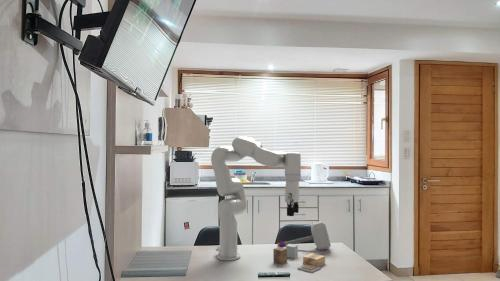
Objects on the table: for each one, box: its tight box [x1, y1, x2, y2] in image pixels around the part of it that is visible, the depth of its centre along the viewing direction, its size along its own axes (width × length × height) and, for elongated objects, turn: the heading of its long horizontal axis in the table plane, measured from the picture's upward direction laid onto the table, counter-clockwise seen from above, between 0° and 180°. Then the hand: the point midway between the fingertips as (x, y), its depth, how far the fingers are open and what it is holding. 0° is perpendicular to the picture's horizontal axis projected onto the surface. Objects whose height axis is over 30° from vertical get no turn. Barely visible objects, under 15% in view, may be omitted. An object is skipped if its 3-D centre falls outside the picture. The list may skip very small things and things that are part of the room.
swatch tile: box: [297, 264, 322, 274], centre depth 176 cm, size 8×8×1 cm
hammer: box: [276, 220, 332, 251], centre depth 213 cm, size 15×8×30 cm
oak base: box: [302, 252, 326, 267], centre depth 185 cm, size 8×8×4 cm
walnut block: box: [273, 246, 288, 265], centre depth 187 cm, size 5×5×7 cm
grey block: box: [285, 244, 299, 259], centre depth 198 cm, size 5×5×6 cm
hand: (292, 214), depth 171 cm, fingers open, 9 cm apart
